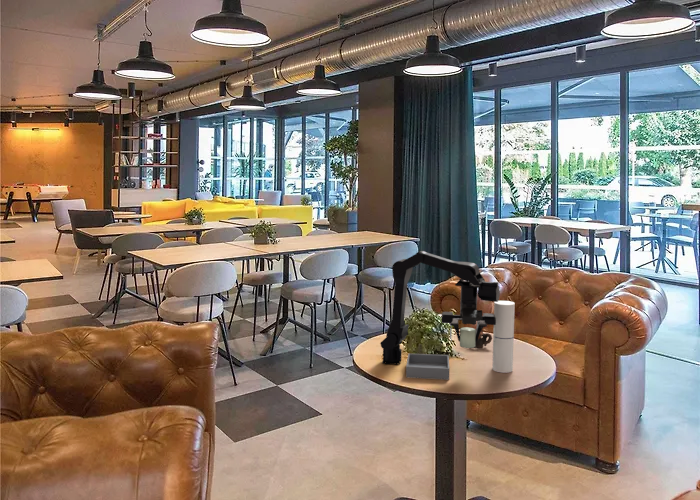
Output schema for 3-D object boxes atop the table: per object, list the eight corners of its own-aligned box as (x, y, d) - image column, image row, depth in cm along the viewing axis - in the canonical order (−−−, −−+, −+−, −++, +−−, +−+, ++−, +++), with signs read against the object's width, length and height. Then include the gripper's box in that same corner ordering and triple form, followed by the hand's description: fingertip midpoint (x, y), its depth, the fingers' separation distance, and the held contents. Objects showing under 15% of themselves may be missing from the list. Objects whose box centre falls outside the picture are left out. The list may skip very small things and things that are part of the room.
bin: (406, 377, 200) (406, 366, 199) (408, 363, 214) (408, 353, 214) (449, 379, 197) (449, 368, 197) (448, 365, 212) (448, 355, 211)
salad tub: (459, 347, 200) (460, 331, 199) (459, 343, 205) (459, 327, 205) (475, 348, 199) (476, 332, 198) (474, 343, 205) (475, 327, 204)
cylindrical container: (501, 373, 203) (503, 305, 199) (488, 368, 209) (490, 301, 206) (516, 370, 206) (519, 303, 203) (502, 364, 212) (505, 299, 209)
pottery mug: (461, 349, 233) (460, 330, 236) (469, 353, 241) (467, 334, 244) (490, 345, 228) (488, 325, 231) (497, 350, 235) (495, 331, 238)
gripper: (442, 303, 194) (441, 347, 196) (498, 305, 191) (496, 349, 193) (442, 296, 204) (440, 337, 207) (495, 297, 202) (493, 340, 204)
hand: (467, 341), depth 202 cm, fingers closed on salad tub, 5 cm apart
